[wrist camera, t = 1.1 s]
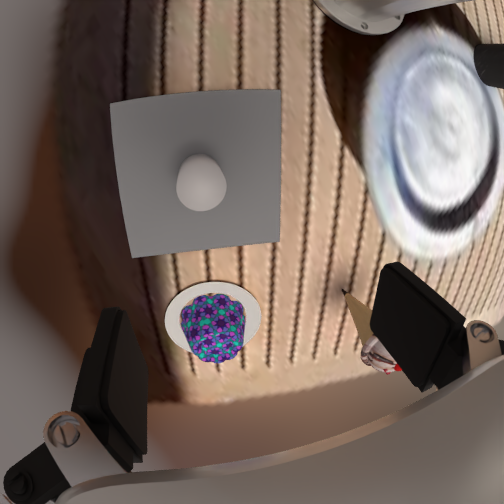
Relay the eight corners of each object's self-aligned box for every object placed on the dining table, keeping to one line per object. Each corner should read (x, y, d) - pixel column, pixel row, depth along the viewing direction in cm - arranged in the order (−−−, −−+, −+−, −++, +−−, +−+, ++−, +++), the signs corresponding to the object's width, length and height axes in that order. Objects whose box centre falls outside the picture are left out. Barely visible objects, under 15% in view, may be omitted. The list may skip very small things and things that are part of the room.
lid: (112, 103, 23) (93, 102, 17) (277, 90, 25) (299, 86, 20) (133, 253, 30) (124, 283, 25) (277, 237, 33) (294, 263, 28)
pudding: (240, 262, 33) (249, 288, 28) (271, 332, 39) (281, 359, 34) (147, 300, 33) (142, 330, 28) (192, 361, 39) (194, 390, 34)
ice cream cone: (333, 313, 39) (386, 394, 26) (314, 290, 36) (370, 378, 23) (365, 287, 38) (427, 361, 25) (349, 262, 36) (418, 340, 23)
